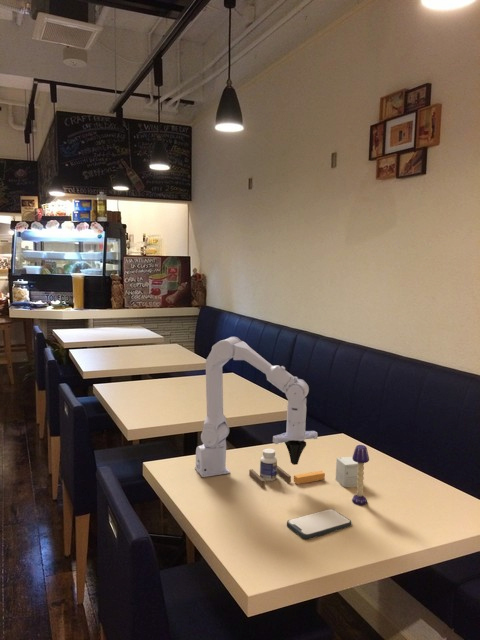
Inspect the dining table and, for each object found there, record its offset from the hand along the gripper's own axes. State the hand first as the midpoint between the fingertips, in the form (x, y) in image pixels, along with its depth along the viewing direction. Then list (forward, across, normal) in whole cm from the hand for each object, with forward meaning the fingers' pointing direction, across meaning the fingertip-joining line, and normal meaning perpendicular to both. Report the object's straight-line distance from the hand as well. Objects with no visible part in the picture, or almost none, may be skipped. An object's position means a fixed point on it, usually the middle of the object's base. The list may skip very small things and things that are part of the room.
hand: (294, 463), depth 157 cm
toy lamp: (+7, +12, -17) cm, 22 cm away
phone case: (+8, -6, -24) cm, 25 cm away
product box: (+7, +17, -5) cm, 19 cm away
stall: (+7, -5, +7) cm, 11 cm away
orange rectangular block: (+7, +6, 0) cm, 9 cm away
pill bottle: (+7, -5, +7) cm, 11 cm away
